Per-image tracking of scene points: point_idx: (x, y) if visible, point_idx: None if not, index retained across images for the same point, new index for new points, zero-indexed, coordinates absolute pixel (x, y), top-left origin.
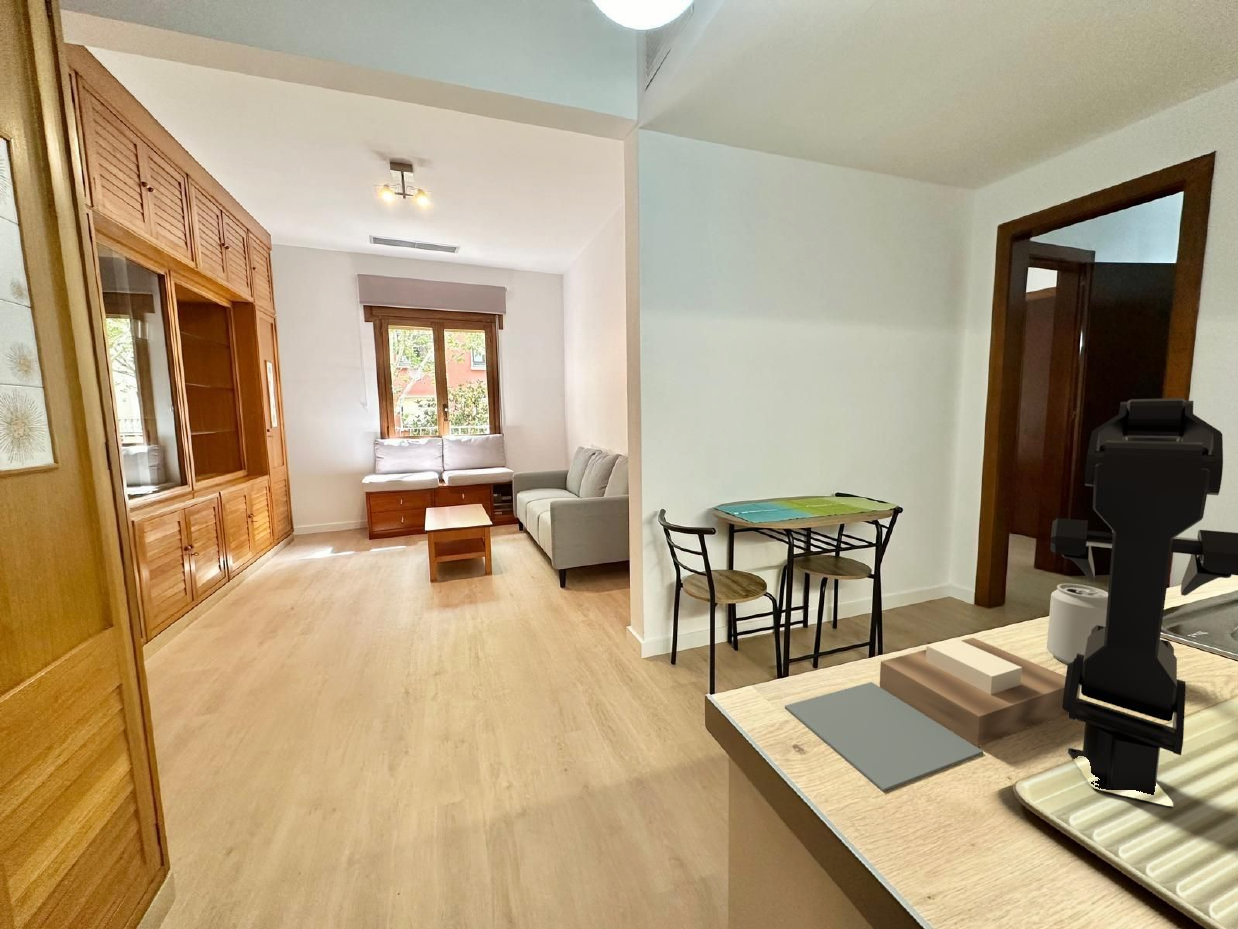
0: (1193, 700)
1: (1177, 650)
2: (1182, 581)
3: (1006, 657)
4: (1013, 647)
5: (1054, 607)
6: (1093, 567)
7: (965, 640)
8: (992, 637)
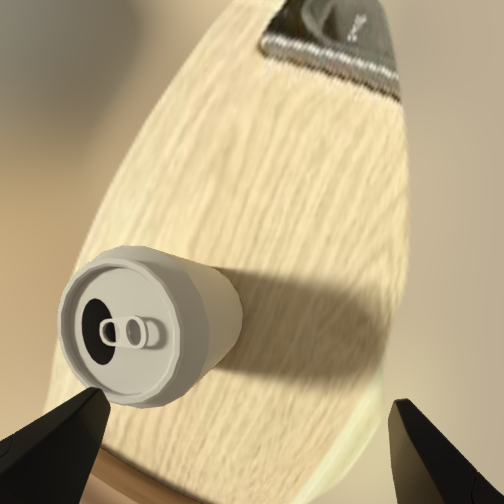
0: (358, 364)
1: (343, 115)
2: (408, 446)
3: (107, 499)
4: None
5: (95, 357)
6: (67, 452)
7: None
8: None
